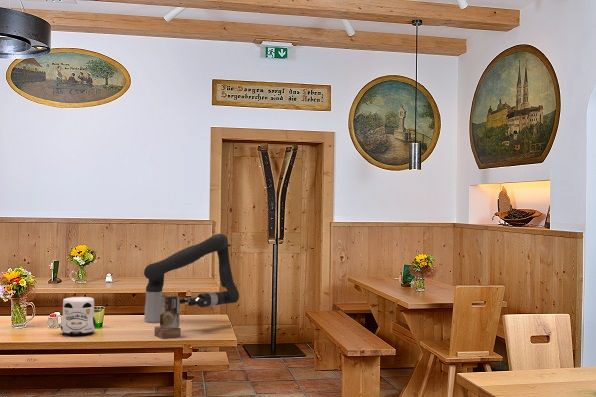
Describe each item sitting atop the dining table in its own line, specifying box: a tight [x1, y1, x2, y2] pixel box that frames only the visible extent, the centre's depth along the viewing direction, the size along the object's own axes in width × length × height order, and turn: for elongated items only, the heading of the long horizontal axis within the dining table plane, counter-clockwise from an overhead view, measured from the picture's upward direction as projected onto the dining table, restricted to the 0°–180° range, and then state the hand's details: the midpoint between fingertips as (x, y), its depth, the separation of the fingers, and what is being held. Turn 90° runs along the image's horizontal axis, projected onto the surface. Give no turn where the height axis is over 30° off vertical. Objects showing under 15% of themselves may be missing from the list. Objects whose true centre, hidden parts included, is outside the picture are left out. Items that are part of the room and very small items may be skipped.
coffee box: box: [159, 294, 181, 328], centre depth 367 cm, size 9×6×16 cm
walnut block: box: [154, 325, 182, 340], centre depth 366 cm, size 10×10×5 cm
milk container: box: [60, 296, 97, 336], centre depth 368 cm, size 17×17×18 cm
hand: (183, 302), depth 375 cm, fingers open, 8 cm apart
